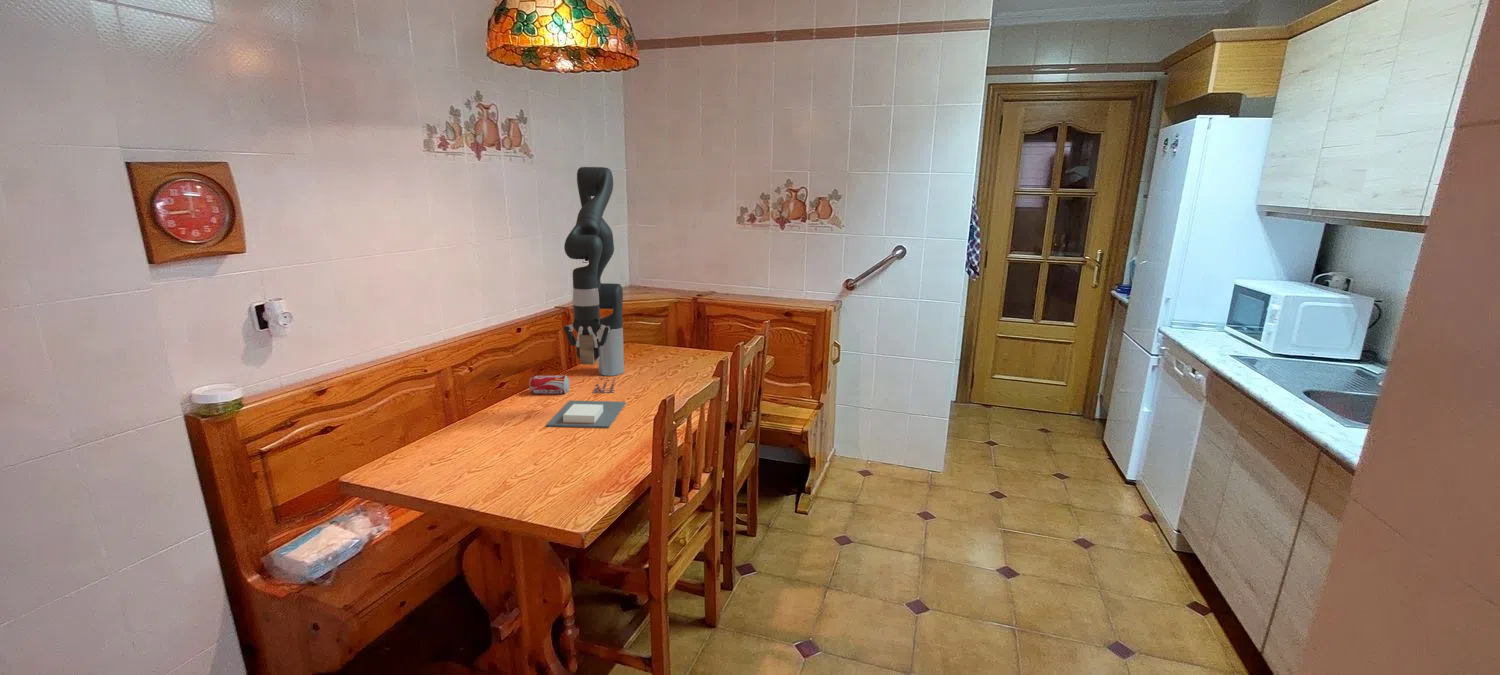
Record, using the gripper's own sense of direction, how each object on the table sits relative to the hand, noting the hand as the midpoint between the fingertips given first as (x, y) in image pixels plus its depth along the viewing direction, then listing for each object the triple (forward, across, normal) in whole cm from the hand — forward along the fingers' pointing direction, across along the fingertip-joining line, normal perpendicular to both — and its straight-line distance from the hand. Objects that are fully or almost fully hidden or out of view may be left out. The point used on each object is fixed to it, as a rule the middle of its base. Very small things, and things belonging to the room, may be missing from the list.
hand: (588, 358), depth 183 cm
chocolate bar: (+18, +2, -26) cm, 31 cm away
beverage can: (+14, +12, -17) cm, 25 cm away
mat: (+17, 0, +4) cm, 17 cm away
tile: (+15, 0, +3) cm, 15 cm away
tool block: (+1, 0, 0) cm, 1 cm away
